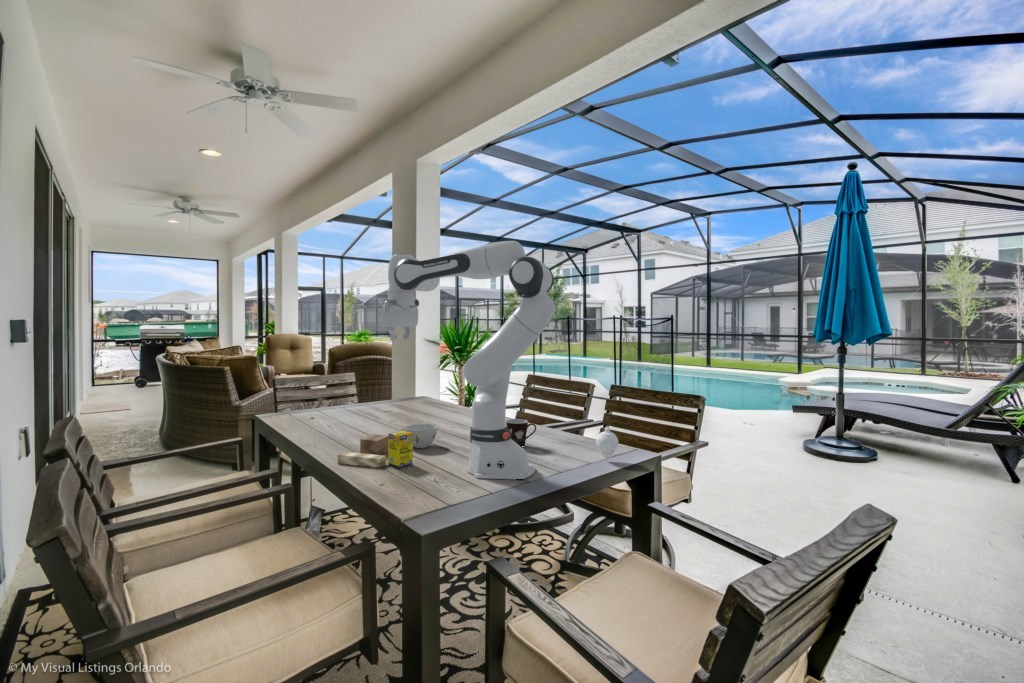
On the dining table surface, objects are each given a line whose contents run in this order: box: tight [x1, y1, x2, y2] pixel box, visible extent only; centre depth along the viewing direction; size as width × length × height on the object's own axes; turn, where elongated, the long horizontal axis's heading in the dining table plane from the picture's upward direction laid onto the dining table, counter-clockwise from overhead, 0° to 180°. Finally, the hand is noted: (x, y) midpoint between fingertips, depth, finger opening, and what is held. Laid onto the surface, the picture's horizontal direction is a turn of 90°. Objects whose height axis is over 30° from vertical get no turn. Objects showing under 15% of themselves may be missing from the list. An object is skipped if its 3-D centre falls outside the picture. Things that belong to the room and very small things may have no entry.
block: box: [359, 433, 388, 455], centre depth 172 cm, size 7×8×6 cm
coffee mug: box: [505, 418, 537, 447], centre depth 183 cm, size 12×9×10 cm
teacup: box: [399, 423, 439, 449], centre depth 182 cm, size 15×12×8 cm
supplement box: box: [387, 430, 414, 469], centre depth 158 cm, size 6×6×11 cm
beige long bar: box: [337, 451, 387, 468], centre depth 159 cm, size 16×4×3 cm, turn 75°
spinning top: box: [595, 427, 619, 460], centre depth 164 cm, size 8×8×12 cm
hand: (400, 339), depth 165 cm, fingers open, 8 cm apart
